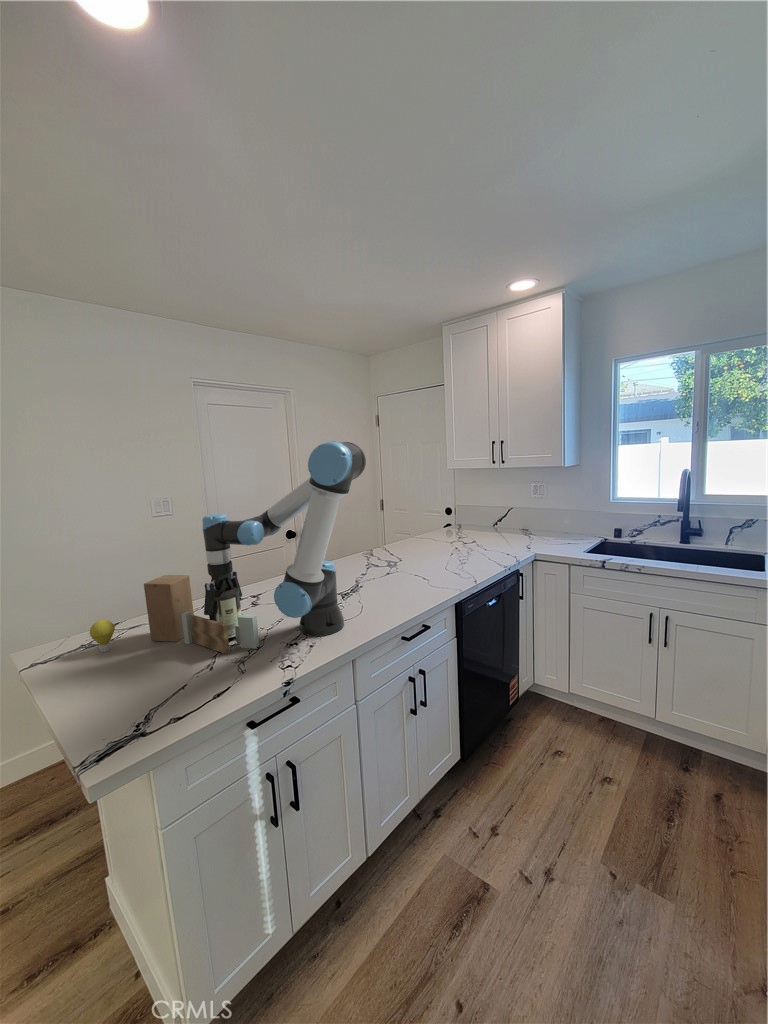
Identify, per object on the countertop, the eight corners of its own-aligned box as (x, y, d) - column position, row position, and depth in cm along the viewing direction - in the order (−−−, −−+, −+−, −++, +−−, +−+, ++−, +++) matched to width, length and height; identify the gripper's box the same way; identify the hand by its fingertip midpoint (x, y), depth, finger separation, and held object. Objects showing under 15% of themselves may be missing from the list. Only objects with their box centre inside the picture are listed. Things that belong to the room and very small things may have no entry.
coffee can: (227, 623, 147) (223, 585, 145) (250, 628, 143) (246, 588, 141) (203, 636, 138) (198, 595, 136) (226, 641, 134) (222, 599, 131)
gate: (229, 652, 128) (226, 624, 127) (226, 653, 127) (223, 625, 126) (194, 640, 138) (191, 614, 137) (191, 642, 137) (188, 615, 136)
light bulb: (122, 646, 137) (118, 617, 135) (103, 656, 130) (98, 625, 129) (107, 644, 139) (103, 615, 138) (87, 653, 133) (82, 623, 131)
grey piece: (259, 644, 133) (256, 614, 132) (255, 648, 131) (252, 617, 129) (190, 639, 139) (187, 611, 138) (184, 643, 137) (181, 614, 135)
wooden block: (177, 642, 138) (169, 583, 135) (150, 641, 140) (142, 583, 137) (196, 629, 148) (189, 574, 145) (171, 628, 150) (164, 574, 147)
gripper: (230, 552, 148) (236, 612, 152) (185, 571, 127) (194, 640, 130) (248, 552, 146) (255, 613, 150) (206, 572, 125) (215, 642, 128)
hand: (226, 625), depth 140 cm, fingers closed on coffee can, 10 cm apart
